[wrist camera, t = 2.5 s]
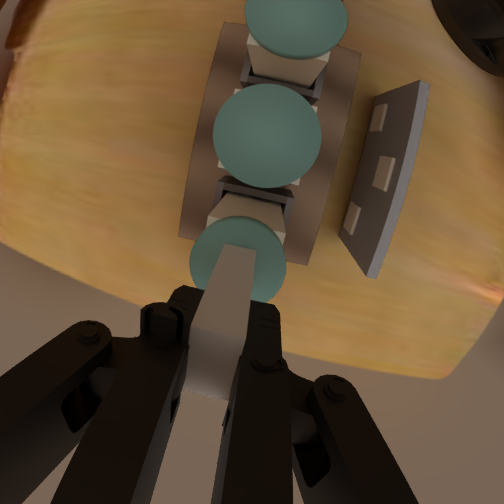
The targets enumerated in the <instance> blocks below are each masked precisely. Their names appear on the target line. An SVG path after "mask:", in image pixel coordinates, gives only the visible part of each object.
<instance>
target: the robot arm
mask: <svg viewBox="0 0 504 504" xmlns="http://www.w3.org/2000/svg"><path fill="white" fill-rule="evenodd" d="M432 1H433V5H434V7H435V10H436V12H437V14H438V16H439V18H440V20H441V22H442V24H443V25H444V27H445V28H446V30H447V32H448V33H449V34H450V36H451V37H452V39H453V40H454V41H455V43H456V44H457V45H458V46H459V47H460V49H461V50H462V51H463V52H464V53H465V54H466V55H467V56H468V57H469V58H470V59H471V60H472V61H473V62H475V63H476V64H477V65H478V66H479V67H481V68H482V69H484V70H485V71H487V72H489V73H491V74H493V75H496V76H501V77H504V0H432ZM255 259H256V250H252V249H247V248H243V247H239V246H234V245H230V244H224V247H223V249H222V251H221V254H220V256H219V258H218V261H217V263H216V265H215V268H214V270H213V272H212V275H211V277H210V280H209V282H208V284H207V287H206V289H205V290H202V289H198V288H194V287H189V286H185V285H183V286H181V287H179V288H177V289H176V290H174V292H173V293H172V295H171V297H170V299H169V300H168V302H167V303H164V302H157V303H151V304H148V305H146V306H144V307H143V308H142V309H141V315H140V316H141V318H140V335H139V337H134V338H122V337H112V335H111V332H110V330H109V328H107V326H105V325H104V324H102V323H100V322H97V321H90V320H87V321H80V322H78V323H76V324H74V325H72V326H71V327H69V328H68V329H67V330H65V331H63V332H62V333H60V334H59V335H58V336H56V337H55V338H53V339H52V340H51V341H49V342H48V343H46V344H45V345H43V346H42V347H40V348H39V349H38V350H36V351H35V352H33V353H32V354H31V355H29V356H28V357H26V358H25V359H24V360H22V361H21V362H20V363H18V364H17V365H15V366H14V367H13V368H11V369H10V370H9V371H7V372H6V373H5V374H3V375H2V376H1V377H0V504H22V503H23V502H24V501H25V499H26V498H27V497H28V496H29V495H30V494H31V493H32V492H33V491H34V490H35V489H36V488H37V487H38V486H39V485H40V484H41V483H42V482H43V480H44V479H45V478H46V477H47V476H48V475H49V474H50V473H51V472H52V471H53V470H54V469H55V467H57V466H58V464H59V463H60V462H61V461H62V460H63V459H64V458H65V457H66V456H67V455H68V454H69V453H70V452H71V450H73V448H74V447H75V446H76V445H77V444H78V443H79V442H80V443H79V445H78V447H77V449H76V451H75V453H74V455H73V457H72V459H71V461H70V463H69V465H68V467H67V469H66V471H65V473H64V475H63V477H62V480H61V482H60V484H59V486H58V488H57V490H56V492H55V494H54V497H53V499H52V501H51V504H150V501H151V498H152V495H153V491H154V487H155V484H156V481H157V477H158V474H159V470H160V467H161V463H162V460H163V457H164V453H165V450H166V447H167V443H168V440H169V437H170V433H171V430H172V426H173V423H174V420H175V417H176V413H177V410H178V407H179V404H180V395H181V391H182V388H183V390H184V391H188V392H192V393H197V394H200V395H205V396H210V397H214V398H218V399H223V400H228V401H229V403H228V407H227V410H226V414H225V417H224V421H223V424H222V426H223V432H222V438H221V445H220V450H219V457H218V463H217V469H216V475H215V481H214V487H213V493H212V499H211V504H293V476H292V475H293V473H292V468H293V471H294V474H295V477H296V480H297V483H298V486H299V489H300V492H301V496H302V499H303V502H304V504H419V503H418V501H417V499H416V497H415V495H414V494H413V492H412V490H411V488H410V486H409V484H408V482H407V481H406V479H405V477H404V475H403V473H402V471H401V469H400V467H399V466H398V464H397V462H396V460H395V458H394V456H393V455H392V453H391V451H390V449H389V448H388V446H387V444H386V442H385V440H384V439H383V437H382V435H381V433H380V431H379V429H378V428H377V426H376V424H375V422H374V421H373V419H372V417H371V415H370V413H369V412H368V410H367V408H366V406H365V405H364V403H363V401H362V399H361V398H360V396H359V394H358V392H357V391H356V389H355V388H354V386H353V385H352V384H351V383H350V382H349V381H347V380H346V379H344V378H342V377H339V376H337V375H323V376H320V377H319V378H317V379H316V380H315V382H313V381H310V380H307V379H305V378H302V377H300V376H298V375H296V374H294V373H293V372H292V371H290V370H289V369H288V366H287V363H286V361H285V360H284V359H283V357H282V346H281V324H280V312H279V311H278V310H277V308H276V307H275V305H273V304H268V303H264V302H259V301H254V300H251V292H252V284H253V275H254V267H255ZM183 385H184V386H183Z"/></svg>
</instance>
